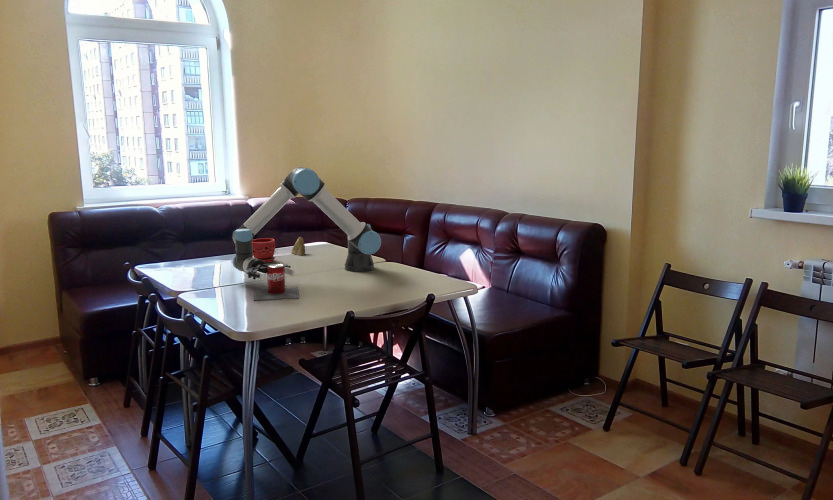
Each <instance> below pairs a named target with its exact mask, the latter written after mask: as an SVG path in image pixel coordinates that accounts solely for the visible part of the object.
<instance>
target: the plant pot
mask: <svg viewBox="0 0 833 500" xmlns="http://www.w3.org/2000/svg"><path fill="white" fill-rule="evenodd" d="M252 249H253V258H257V259H260V260H262V261H264V262H265V264H268V263H271V262H274V260H275V259H276V257H275V256H274V255H275V252H276V240H275V239H274V238H272V237H271V238H268V237H266V238H265V237H264V238H256V239H254V238H253V239H252Z"/></svg>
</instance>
